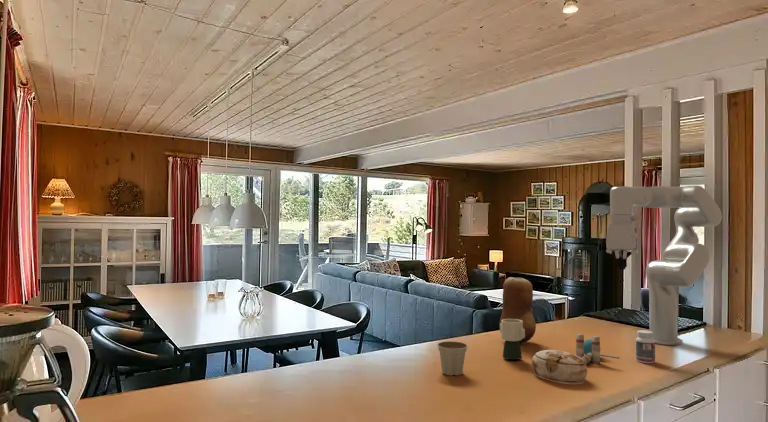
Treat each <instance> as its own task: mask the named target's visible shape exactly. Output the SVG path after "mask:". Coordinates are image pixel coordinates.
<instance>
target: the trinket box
mask: <svg viewBox="0 0 768 422" xmlns="http://www.w3.org/2000/svg"><path fill="white" fill-rule="evenodd" d="M531 367H532V370H533V372H534V375H535V376H536V377H538V378H541V379H543V380H546V381H548V382H549V381H550V382H553V383H557V384H563V383H564V385H581V383H582V384H584V383H585V380H586V378H587V376H588V367H587V364H585V363H584V360H583V359H582V358H580V357H579V356H577V355H576V354H574V353H571V352H568V351H565V350H560V349H559V350H558V349H544V350H540V351H538V352H535V354H534V355H533V356H532V359H531ZM583 382H584V383H583Z"/></svg>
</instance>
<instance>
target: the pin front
mask: <svg viewBox="0 0 768 422" xmlns="http://www.w3.org/2000/svg"><path fill="white" fill-rule="evenodd" d="M581 358H582V359H583V360H584V363H585V364H586V365H587V364H589V363H590V362H592V353H588V354H586V355H585V354H584V356H583V357H581Z"/></svg>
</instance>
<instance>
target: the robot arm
mask: <svg viewBox="0 0 768 422" xmlns="http://www.w3.org/2000/svg"><path fill="white" fill-rule="evenodd" d="M633 208H649V209H650V208H652V209H654V208H655V209H658V208H659V209H662V208H663V209H666V208H667V209H669V208H671V209H675V208H678V209H676V210H675V212H674V219H673V220H674V224H675V235H674V237H673V238H672V240H670V242H669V244H668V245H667V246H666V247H665V249H664V251H663V253H662V259H656V260H652V261H650V262H649V263H647V265H646V267H645V275H646V281H647V285H648V299H649V301H648V307H649V309H648V310H649V311H648V313H649V314H648V315H649V316H648V317H649V319H648V320H649V326H648V327H649V331H651V332H653V337H652V338H653V339H654V340H655V344H658V345H665V346H679V345H682V344H683V339H681V338H680V337H678V335H679V334H678V296H677V293H676V291H675V289H674V287H679V288H689V287H692V286H693V285H695V283H696V282H697V281H698V280H699V278H700V276H701V275H702V274H703V272H704V271H705V269H706V268H707V266H708V265H709V261H710V250H709V249H708V248H707V246H706V245H704V244H702V243H699V242H700V238H699V236H698V234H697V233H696V232H695V230H694V228H698V227H699V228H700V227H702V228H704V227H705V228H711V227H712V228H713V227H717V226H718V225H720V223H721V222H722V219H723V215H722V211H721V209H720V207H719V206H718V204H717V203H716V201H715V200H714V199H713V196H712V195H710V193H709V191H707V190H706V188H704V187H702V186H701V185H686V186H685V185H684V186H668V185H667V186H664V185H656V186H654V185H653V186H648V187H647V186H626V185H625V186H612V187H611V188H610V190H609V212H610V213H609V216H610V217H609V218H610V220H609V221H610V223H608V225H607V231H606V239H605V240H606V241H605V243H606V244H605V245H606V250H605V252H606V253H607V254H610V255H612V256H614V257H615V259H616V267H617V268H618V270H621V271H623V270H626V268H627V267H628V259H629V257H631V256H632V255H635V254H639V251H638V247H639V242H638V240H639V239H638V230H637V225H636V223H634V221H638V216H635V215H634V214H633V213H634V212H633V211H634V209H633ZM621 251H623V254H622V255H621Z"/></svg>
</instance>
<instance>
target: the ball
mask: <svg viewBox="0 0 768 422" xmlns="http://www.w3.org/2000/svg"><path fill="white" fill-rule="evenodd" d="M588 353H592V338H589V339H586V340H585V339H584V356H585V355H586V354H588Z"/></svg>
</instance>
